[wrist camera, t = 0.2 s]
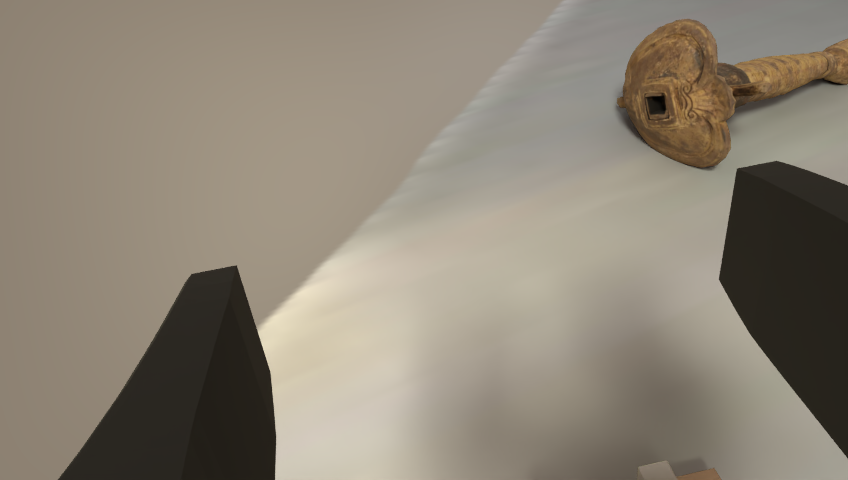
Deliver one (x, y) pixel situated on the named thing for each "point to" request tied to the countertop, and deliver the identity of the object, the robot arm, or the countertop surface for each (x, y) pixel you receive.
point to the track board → (672, 473)
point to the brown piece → (708, 88)
